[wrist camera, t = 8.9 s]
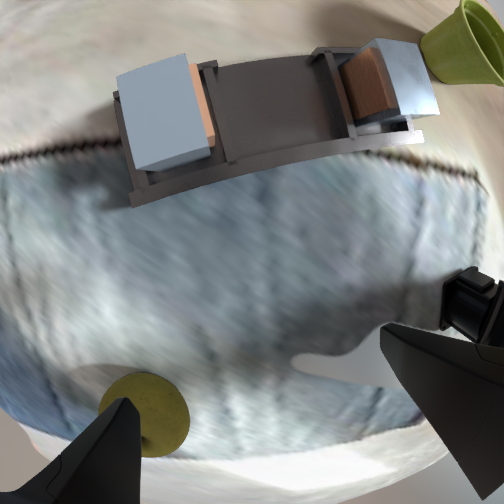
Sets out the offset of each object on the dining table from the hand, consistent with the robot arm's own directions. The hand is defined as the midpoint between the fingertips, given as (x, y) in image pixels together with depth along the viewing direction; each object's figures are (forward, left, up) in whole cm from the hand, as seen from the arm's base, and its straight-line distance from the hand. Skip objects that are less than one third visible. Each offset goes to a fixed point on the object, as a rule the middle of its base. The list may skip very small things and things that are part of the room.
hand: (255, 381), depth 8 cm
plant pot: (+15, -26, -13) cm, 33 cm away
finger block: (+10, +1, -12) cm, 16 cm away
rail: (+10, -6, -13) cm, 17 cm away
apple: (-10, +11, -13) cm, 20 cm away
